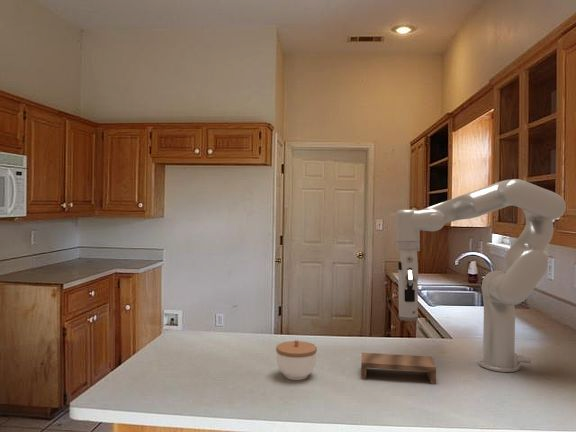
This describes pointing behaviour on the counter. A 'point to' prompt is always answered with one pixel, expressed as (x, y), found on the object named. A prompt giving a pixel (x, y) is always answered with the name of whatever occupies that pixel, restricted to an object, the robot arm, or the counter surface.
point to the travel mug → (406, 309)
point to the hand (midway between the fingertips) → (408, 299)
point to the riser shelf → (399, 363)
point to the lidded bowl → (296, 359)
